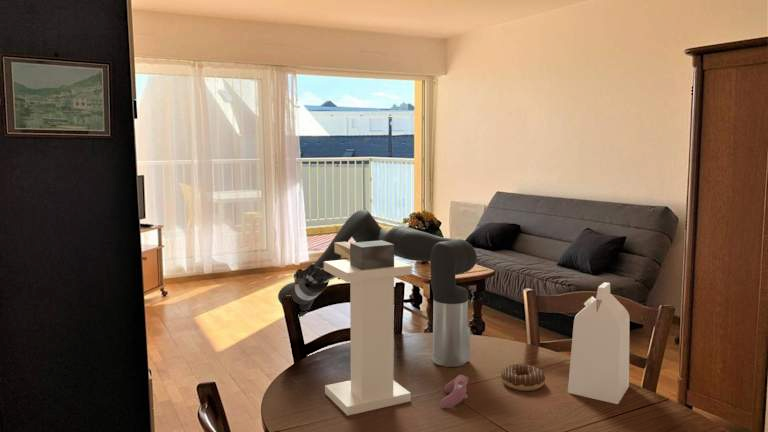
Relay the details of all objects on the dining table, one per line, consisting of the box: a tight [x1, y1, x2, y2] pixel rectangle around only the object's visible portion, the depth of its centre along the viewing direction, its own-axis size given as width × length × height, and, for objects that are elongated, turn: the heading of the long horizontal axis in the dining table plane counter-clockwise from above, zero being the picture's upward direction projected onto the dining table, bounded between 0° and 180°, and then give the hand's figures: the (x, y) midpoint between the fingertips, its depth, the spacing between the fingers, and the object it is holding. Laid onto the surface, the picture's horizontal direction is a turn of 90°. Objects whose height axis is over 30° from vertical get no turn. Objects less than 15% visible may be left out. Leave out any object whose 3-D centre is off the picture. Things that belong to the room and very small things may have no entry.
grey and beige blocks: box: [334, 240, 395, 270], centre depth 143 cm, size 8×21×5 cm, turn 27°
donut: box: [500, 363, 546, 392], centre depth 151 cm, size 11×11×4 cm
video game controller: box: [440, 373, 469, 409], centre depth 141 cm, size 10×5×7 cm, turn 169°
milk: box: [567, 281, 630, 405], centre depth 146 cm, size 12×12×26 cm
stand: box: [324, 258, 413, 416], centre depth 141 cm, size 16×13×32 cm
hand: (329, 265), depth 159 cm, fingers open, 8 cm apart
